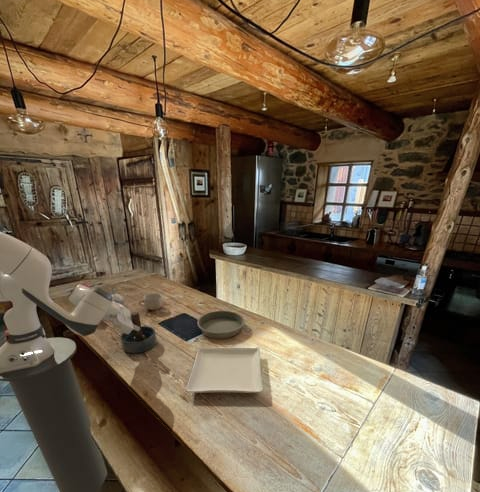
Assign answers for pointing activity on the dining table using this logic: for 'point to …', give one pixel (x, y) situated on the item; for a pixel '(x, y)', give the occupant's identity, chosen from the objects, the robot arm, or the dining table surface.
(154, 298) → the teacup
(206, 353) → the square plate
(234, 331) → the cake pan
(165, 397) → the dining table surface
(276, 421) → the dining table surface
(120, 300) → the cup with straw
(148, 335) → the bowl
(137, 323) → the dark brown spice grinder
